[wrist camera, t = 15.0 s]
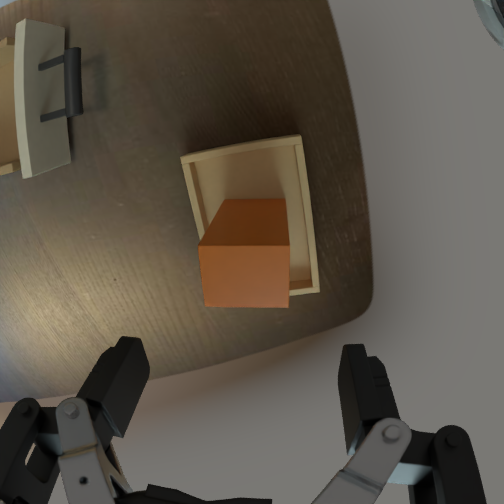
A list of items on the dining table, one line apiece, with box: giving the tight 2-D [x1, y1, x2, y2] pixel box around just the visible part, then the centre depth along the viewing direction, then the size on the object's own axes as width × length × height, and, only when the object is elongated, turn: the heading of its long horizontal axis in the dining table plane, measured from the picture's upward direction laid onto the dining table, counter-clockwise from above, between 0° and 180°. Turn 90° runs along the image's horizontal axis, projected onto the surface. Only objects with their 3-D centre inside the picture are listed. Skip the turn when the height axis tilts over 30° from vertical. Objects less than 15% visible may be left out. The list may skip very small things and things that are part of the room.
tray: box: [180, 134, 320, 296], centre depth 26 cm, size 13×9×2 cm
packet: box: [198, 199, 290, 308], centre depth 22 cm, size 5×4×10 cm
